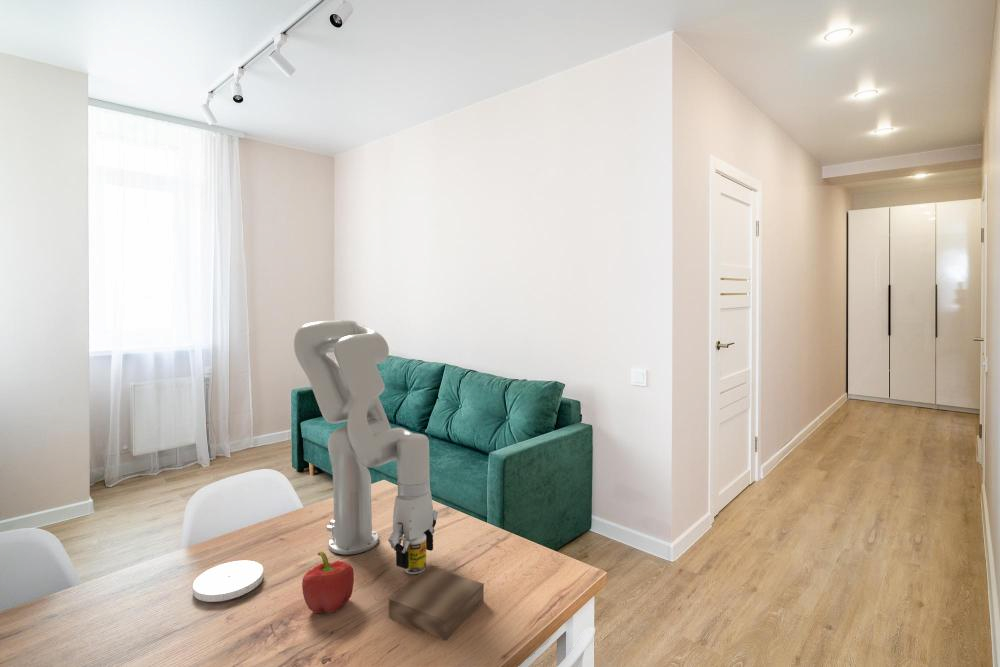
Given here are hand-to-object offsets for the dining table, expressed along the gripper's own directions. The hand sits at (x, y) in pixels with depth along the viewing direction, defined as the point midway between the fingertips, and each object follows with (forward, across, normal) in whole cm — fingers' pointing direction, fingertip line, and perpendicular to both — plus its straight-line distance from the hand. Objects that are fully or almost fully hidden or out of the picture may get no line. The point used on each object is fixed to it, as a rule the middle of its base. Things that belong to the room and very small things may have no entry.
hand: (415, 557), depth 121 cm
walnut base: (+3, +10, +14) cm, 17 cm away
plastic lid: (+3, +26, -32) cm, 42 cm away
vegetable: (+3, +20, -7) cm, 21 cm away
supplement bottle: (+3, 0, 0) cm, 3 cm away
